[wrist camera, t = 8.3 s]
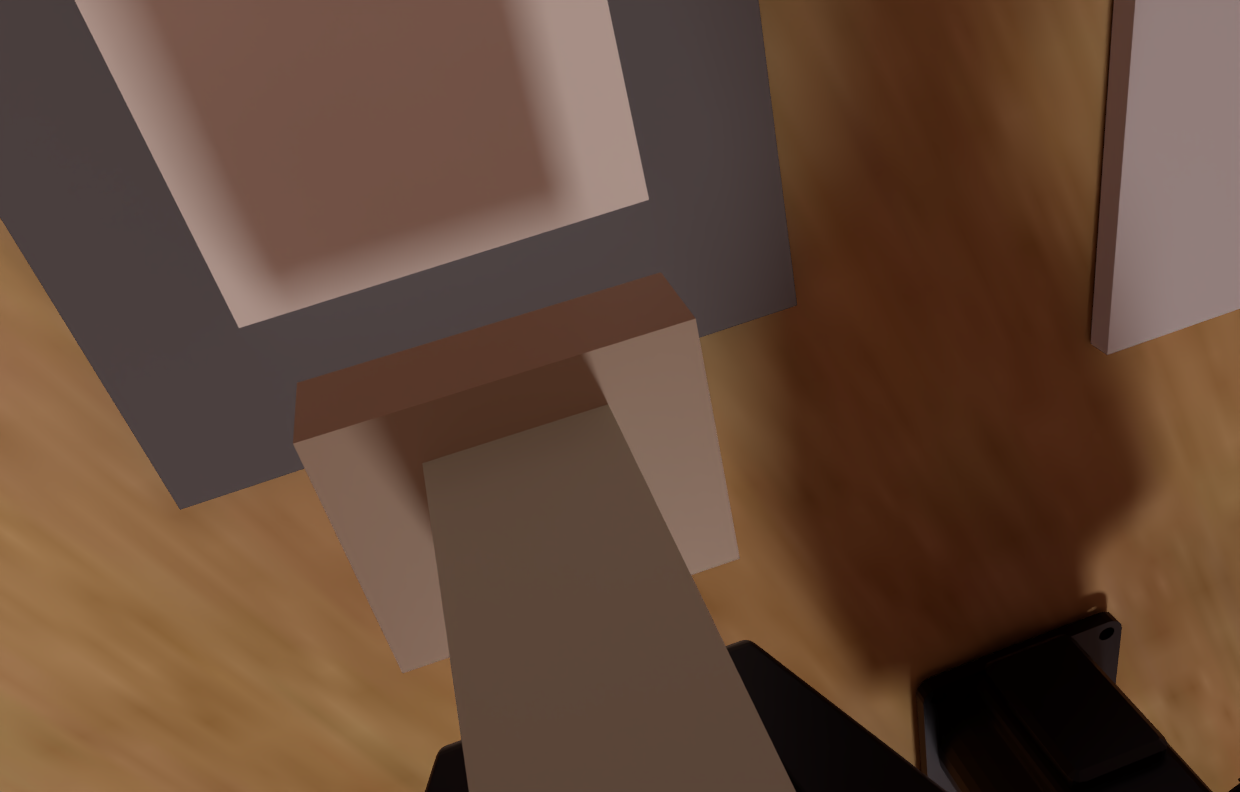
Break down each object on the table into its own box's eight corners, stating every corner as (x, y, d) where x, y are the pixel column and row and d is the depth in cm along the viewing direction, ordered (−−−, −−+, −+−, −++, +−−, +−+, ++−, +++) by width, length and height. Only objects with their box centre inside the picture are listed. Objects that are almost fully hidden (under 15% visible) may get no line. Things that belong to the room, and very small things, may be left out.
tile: (649, 199, 16) (523, -401, 12) (238, 328, 16) (-57, -261, 11) (621, 168, 18) (500, -377, 13) (245, 284, 17) (-14, -253, 13)
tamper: (705, 499, 15) (1217, 1407, 6) (397, 601, 15) (491, 1744, 6) (660, 272, 13) (1333, 1167, 4) (296, 382, 13) (212, 1663, 4)
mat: (787, 295, 21) (797, 304, 20) (183, 494, 19) (179, 509, 19) (680, -512, 14) (691, -522, 13) (-291, -287, 12) (-313, -291, 12)
